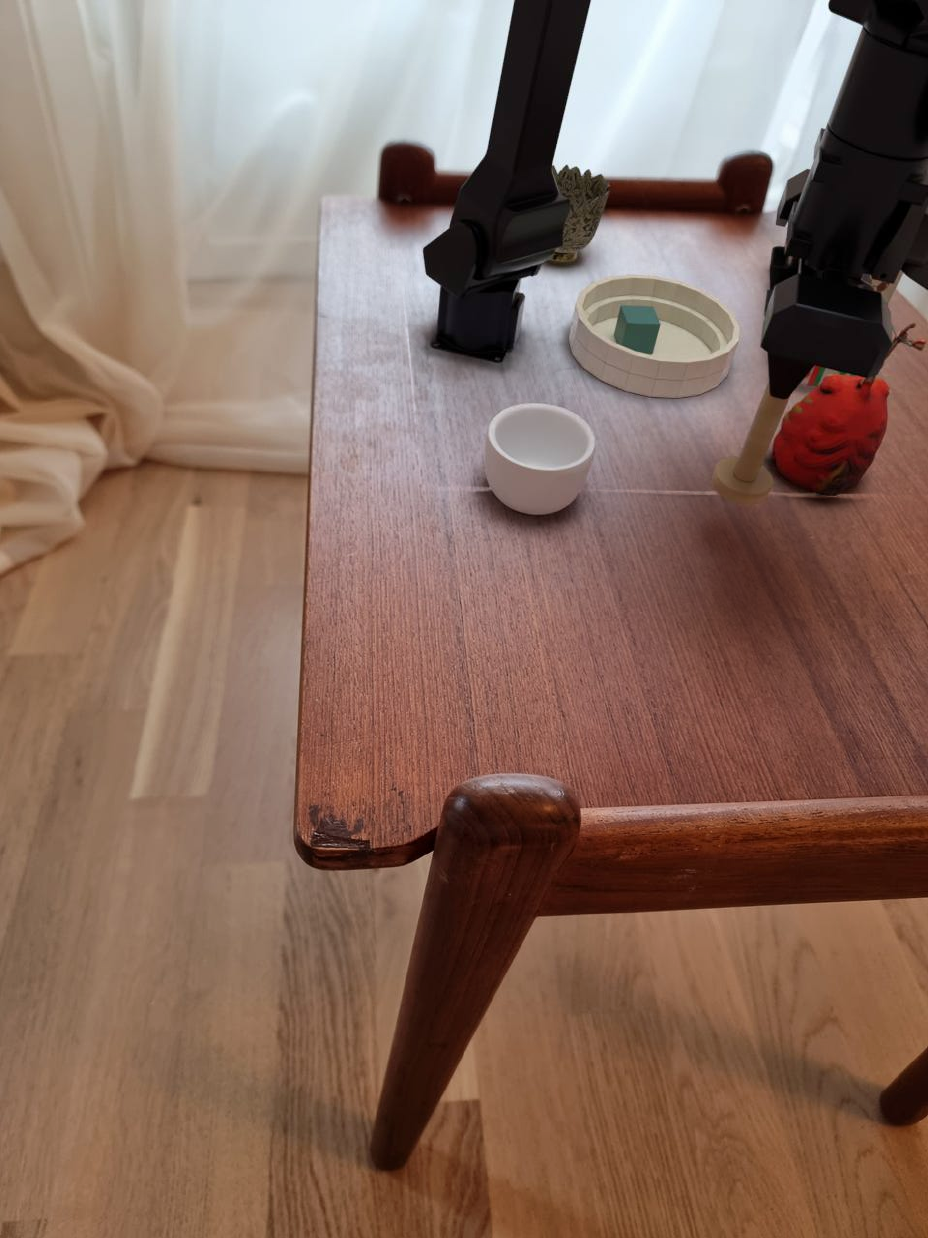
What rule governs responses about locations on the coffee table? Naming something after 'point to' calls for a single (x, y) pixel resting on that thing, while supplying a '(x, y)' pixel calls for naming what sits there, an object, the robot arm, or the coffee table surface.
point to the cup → (579, 210)
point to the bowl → (686, 343)
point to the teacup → (538, 457)
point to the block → (637, 328)
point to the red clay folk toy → (836, 430)
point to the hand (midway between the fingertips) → (778, 388)
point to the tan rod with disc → (751, 457)
